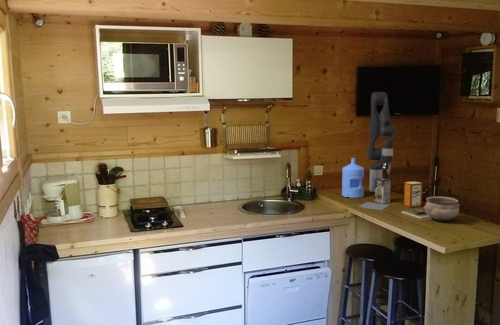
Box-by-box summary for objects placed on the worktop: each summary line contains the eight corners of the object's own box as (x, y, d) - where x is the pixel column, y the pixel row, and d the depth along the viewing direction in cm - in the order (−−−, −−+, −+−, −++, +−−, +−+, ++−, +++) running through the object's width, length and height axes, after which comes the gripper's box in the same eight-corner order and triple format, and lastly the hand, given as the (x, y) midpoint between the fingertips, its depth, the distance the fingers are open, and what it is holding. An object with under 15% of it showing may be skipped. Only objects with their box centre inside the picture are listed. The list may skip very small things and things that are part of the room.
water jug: (337, 196, 343) (338, 158, 339) (350, 193, 353) (350, 156, 349) (355, 199, 332) (356, 160, 327) (368, 196, 342) (368, 158, 338)
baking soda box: (414, 204, 316) (415, 180, 314) (421, 206, 310) (422, 182, 308) (403, 205, 313) (404, 182, 310) (410, 207, 307) (411, 183, 304)
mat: (367, 202, 322) (367, 202, 322) (390, 205, 313) (390, 204, 313) (358, 207, 309) (358, 206, 309) (381, 210, 300) (381, 210, 300)
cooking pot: (434, 226, 264) (435, 205, 262) (413, 218, 281) (413, 198, 280) (470, 221, 272) (471, 201, 270) (446, 214, 289) (447, 194, 288)
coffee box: (374, 200, 327) (374, 178, 324) (381, 199, 329) (382, 177, 327) (382, 203, 319) (383, 180, 316) (390, 202, 321) (391, 179, 319)
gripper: (385, 153, 333) (384, 177, 336) (378, 155, 322) (378, 180, 325) (395, 153, 329) (395, 178, 331) (389, 156, 318) (388, 181, 321)
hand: (386, 179), depth 328 cm, fingers closed
